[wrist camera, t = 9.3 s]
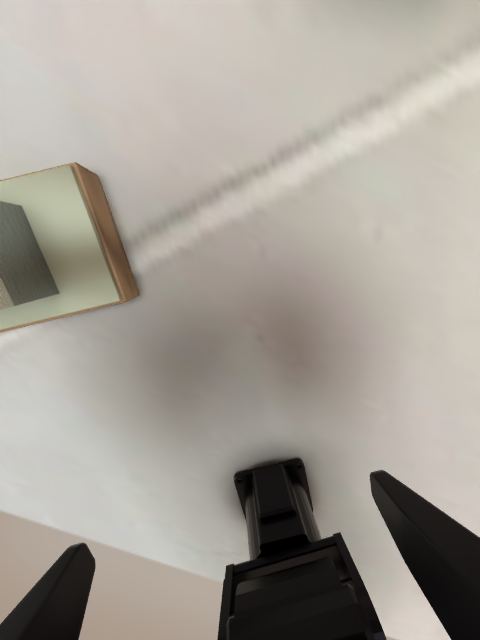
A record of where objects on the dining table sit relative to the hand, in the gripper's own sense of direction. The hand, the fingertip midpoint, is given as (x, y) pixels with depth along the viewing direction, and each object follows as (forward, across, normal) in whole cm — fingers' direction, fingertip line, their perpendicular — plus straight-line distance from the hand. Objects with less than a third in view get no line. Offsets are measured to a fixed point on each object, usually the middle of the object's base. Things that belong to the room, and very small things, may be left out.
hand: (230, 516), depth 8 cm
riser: (+13, +11, -10) cm, 20 cm away
